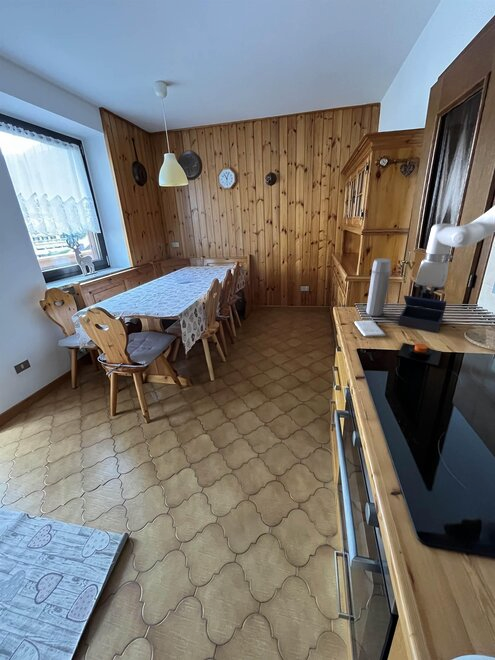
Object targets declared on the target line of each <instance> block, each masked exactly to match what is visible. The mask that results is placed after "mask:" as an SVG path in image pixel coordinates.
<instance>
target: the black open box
mask: <svg viewBox="0 0 495 660" xmlns="http://www.w3.org/2000/svg"><path fill="white" fill-rule="evenodd" d="M444 314H445V311H440V310H434V309H428V308H422V307H416V306H410V305H406V304H405V306H404V308H403V309H402V311H401V313H400V315H399V317H398V321H397V322H398V323H397V325H398V326H401V327H406V328H411V329H416V330H420V331H425V332H430V333H435V334H439V331H440V328H441V324H442V321H443V318H444Z"/></svg>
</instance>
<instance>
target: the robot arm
mask: <svg viewBox="0 0 495 660" xmlns="http://www.w3.org/2000/svg"><path fill="white" fill-rule="evenodd" d="M494 233H495V205H493V206H492V207H491V208H490V209H489V210H487V211H486V212H485V213H483V214H481V215H480V216H479V217H477V218H476V219H474V220H472V221H471V222H469V223H466V224H463V225H455V224H453V223H445V222H444V223H435V224H433V225H432V227H431V229H430V233H429V238H428V241H427V246H426V251H425V255H424V258H423V259H422V260H421V262H420V266H419V268H418V271H417V275H416V278H415V283H414V284H413V286H414V287H415V288H419V289H420V290H421V291H422V295H421V298H426V299H432V294H434V293H436V292H437V291H444V290H445V289H446V282H447V278H448V274H449V270H450V261H449V260H452V259H453V257H454V255H451V254H450V251H451V247H452V248H456V249H463V248H467V247H470V246H472V245H474V244H477V243H480V242H481V241H482V240H484V239H486V238H487V237H489V236H491V235H492V234H494ZM428 287H430V289H429V290H428Z"/></svg>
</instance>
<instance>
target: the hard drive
mask: <svg viewBox="0 0 495 660" xmlns="http://www.w3.org/2000/svg"><path fill="white" fill-rule="evenodd" d="M354 325H355V326H356V328H357V329H358V331H360V333H361V334H362V335H363V337H364V338H366V337H369V338H370V337H385V336H386V333H385V332H384V331H383V330H382V329H381V328H380V327H379V325H378V324H377V323H376V322H375V321H374V320H358V321H354Z"/></svg>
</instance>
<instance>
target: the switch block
mask: <svg viewBox="0 0 495 660" xmlns="http://www.w3.org/2000/svg"><path fill="white" fill-rule="evenodd" d="M415 345H416V344H410V343H407V342H403V343H402V345H401V347H400V349H399V351H398V353H397V357H398V358H402V359H405V360H409V361H413V362H416V363H421V364H425V365H429V366H432V367H437V368H438V367H439V364H440V360H441V356H442V351H441V350H437V349H432V348H430V347H428V348H427V351H426V352H425V353H421V352H417V351H415Z"/></svg>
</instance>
